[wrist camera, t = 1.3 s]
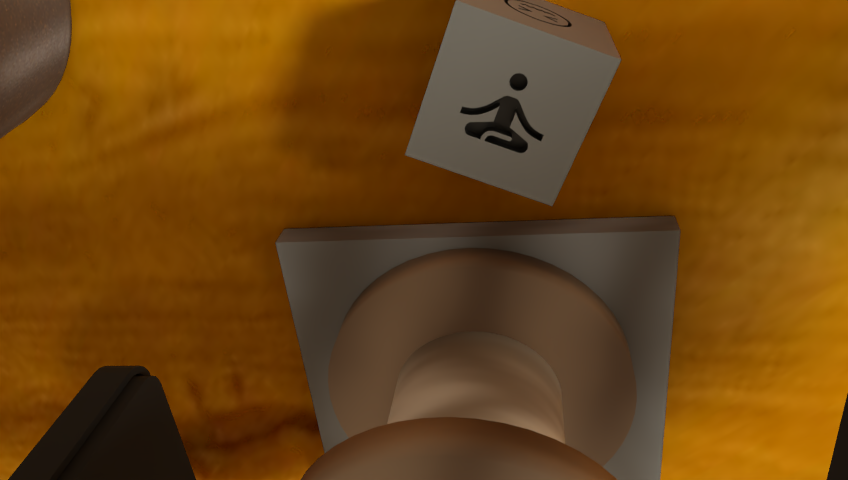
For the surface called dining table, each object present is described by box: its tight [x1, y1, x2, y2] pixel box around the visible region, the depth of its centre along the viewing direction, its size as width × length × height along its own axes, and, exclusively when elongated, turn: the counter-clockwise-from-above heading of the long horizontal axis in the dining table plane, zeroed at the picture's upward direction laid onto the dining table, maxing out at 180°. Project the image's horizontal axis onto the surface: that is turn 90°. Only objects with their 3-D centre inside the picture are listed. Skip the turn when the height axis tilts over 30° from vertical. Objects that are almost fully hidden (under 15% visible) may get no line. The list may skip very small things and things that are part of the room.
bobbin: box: [275, 216, 680, 480], centre depth 27 cm, size 16×14×12 cm
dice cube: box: [405, 0, 621, 206], centre depth 23 cm, size 5×5×5 cm
